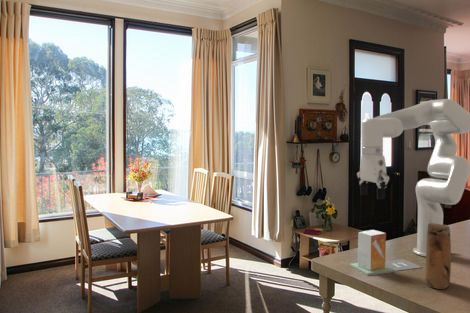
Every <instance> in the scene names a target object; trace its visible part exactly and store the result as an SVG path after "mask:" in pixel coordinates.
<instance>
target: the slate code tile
mask: <svg viewBox="0 0 470 313" xmlns="http://www.w3.org/2000/svg"><path fill="white" fill-rule="evenodd" d="M385 266H386V267H388V268H390V269H392V270H393V272H399V271H407V270H415V269H422V268H423V267H422V266H420V265H418V264H416V263H413V262H411V261H408V260H406V259H404V258H403V259H402V258H401V259H393V260H385Z"/></svg>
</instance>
